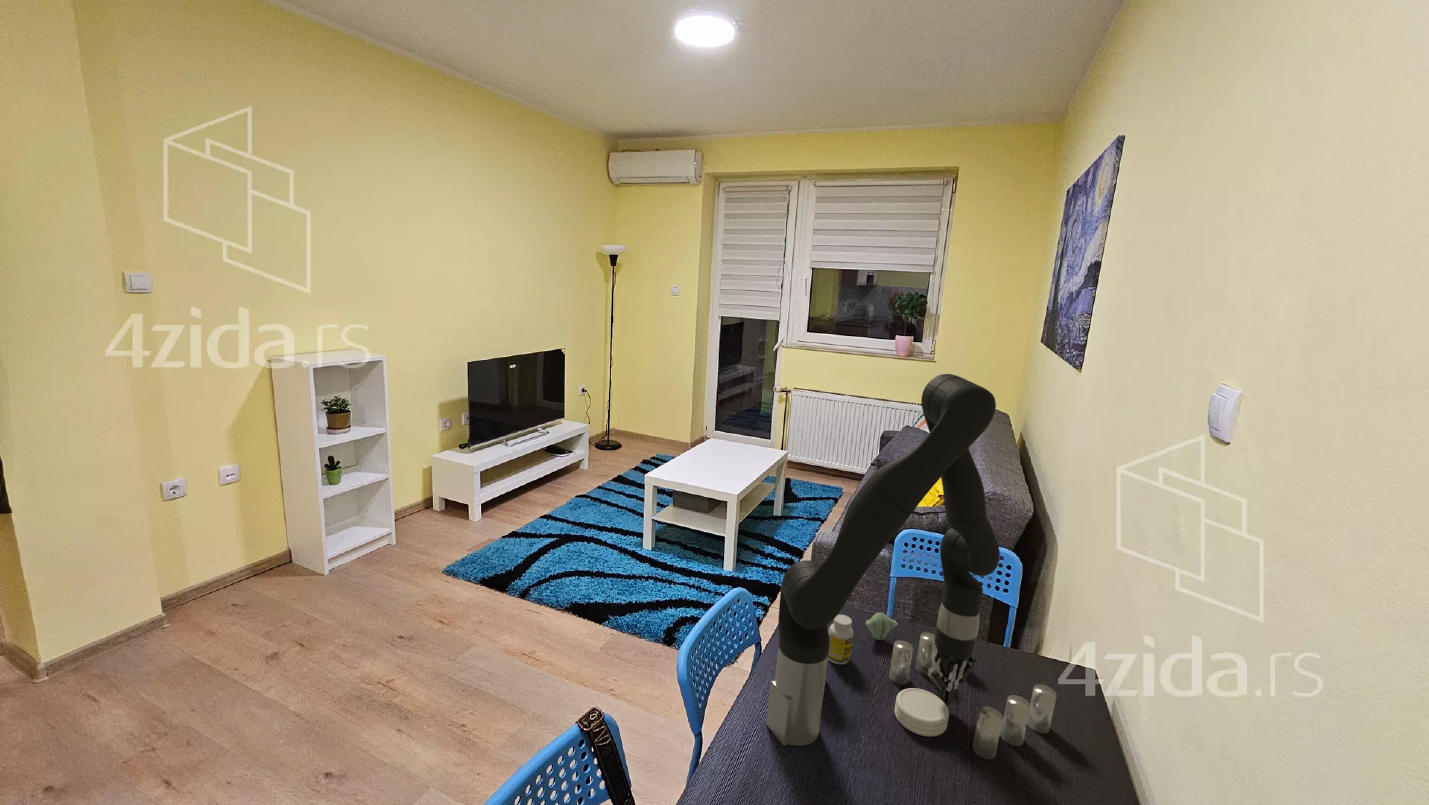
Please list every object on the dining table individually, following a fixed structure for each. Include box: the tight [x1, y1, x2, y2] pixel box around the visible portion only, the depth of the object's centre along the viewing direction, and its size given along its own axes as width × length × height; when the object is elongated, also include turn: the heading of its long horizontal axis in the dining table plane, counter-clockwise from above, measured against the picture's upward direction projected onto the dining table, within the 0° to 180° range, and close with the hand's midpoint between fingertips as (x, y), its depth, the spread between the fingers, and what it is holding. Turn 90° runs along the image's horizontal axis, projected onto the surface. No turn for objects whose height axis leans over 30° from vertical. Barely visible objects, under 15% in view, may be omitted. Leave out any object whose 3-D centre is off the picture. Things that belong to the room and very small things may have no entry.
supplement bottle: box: [828, 614, 854, 665], centre depth 135 cm, size 5×5×10 cm
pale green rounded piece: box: [865, 612, 899, 641], centre depth 144 cm, size 8×4×7 cm, turn 98°
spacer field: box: [888, 631, 1058, 761], centre depth 124 cm, size 20×26×8 cm
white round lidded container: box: [894, 687, 950, 737], centre depth 119 cm, size 10×10×4 cm
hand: (945, 702), depth 122 cm, fingers closed
